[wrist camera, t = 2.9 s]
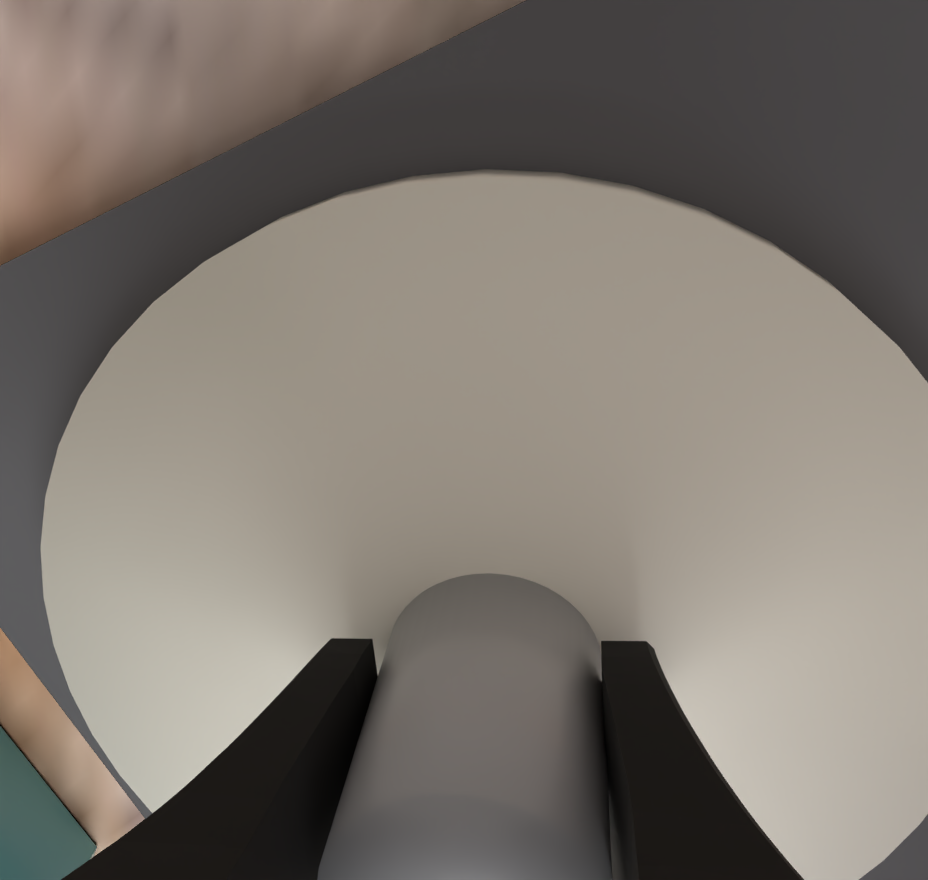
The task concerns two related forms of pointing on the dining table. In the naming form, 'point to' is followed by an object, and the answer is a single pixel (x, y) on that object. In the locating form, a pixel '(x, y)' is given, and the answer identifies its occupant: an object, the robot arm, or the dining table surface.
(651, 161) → the mat
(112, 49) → the dining table surface
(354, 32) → the dining table surface
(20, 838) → the bowl
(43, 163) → the dining table surface
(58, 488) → the lid
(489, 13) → the dining table surface
